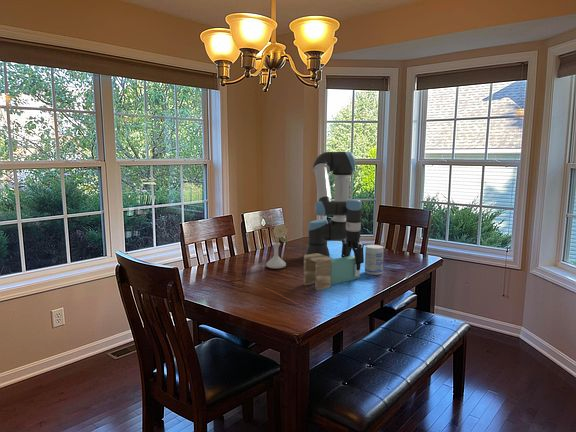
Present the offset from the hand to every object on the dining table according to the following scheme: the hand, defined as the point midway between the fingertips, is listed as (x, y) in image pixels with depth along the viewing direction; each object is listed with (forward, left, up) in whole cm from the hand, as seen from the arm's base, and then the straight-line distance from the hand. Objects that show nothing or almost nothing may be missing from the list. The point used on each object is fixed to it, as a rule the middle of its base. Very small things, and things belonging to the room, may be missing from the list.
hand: (351, 274), depth 214 cm
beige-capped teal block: (0, -7, -2) cm, 7 cm away
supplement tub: (-1, +17, -3) cm, 17 cm away
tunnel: (0, -23, -2) cm, 23 cm away
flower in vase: (-39, -20, -3) cm, 44 cm away
